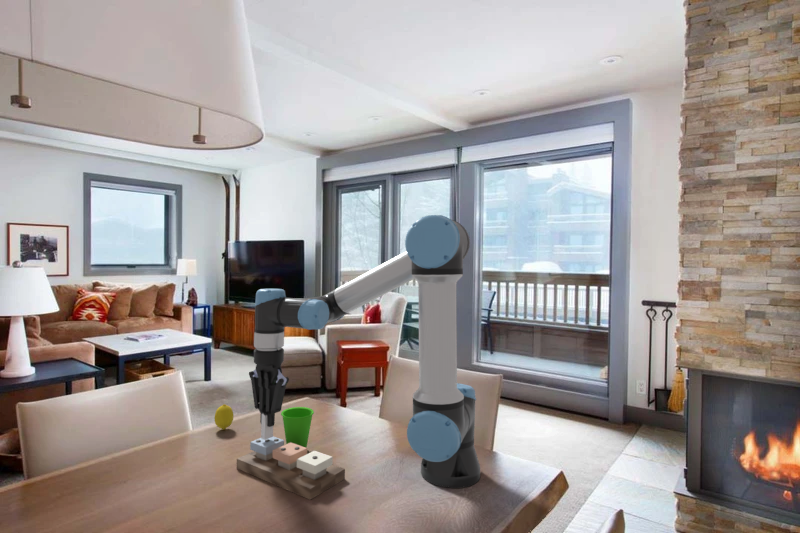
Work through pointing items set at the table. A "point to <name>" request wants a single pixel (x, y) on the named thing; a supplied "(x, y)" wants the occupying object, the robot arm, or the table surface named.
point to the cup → (297, 424)
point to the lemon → (223, 416)
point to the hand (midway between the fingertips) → (267, 437)
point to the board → (290, 475)
